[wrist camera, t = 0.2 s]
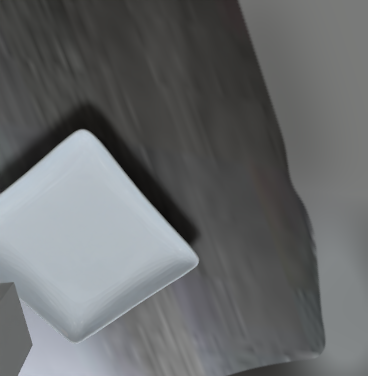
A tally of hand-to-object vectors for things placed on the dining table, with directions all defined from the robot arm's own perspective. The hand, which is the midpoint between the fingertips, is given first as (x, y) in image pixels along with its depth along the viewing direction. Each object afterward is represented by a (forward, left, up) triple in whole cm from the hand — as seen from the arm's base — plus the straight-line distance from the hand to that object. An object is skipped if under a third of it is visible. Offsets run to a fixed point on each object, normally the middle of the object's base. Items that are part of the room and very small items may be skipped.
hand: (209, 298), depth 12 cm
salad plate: (+12, -13, -28) cm, 33 cm away
